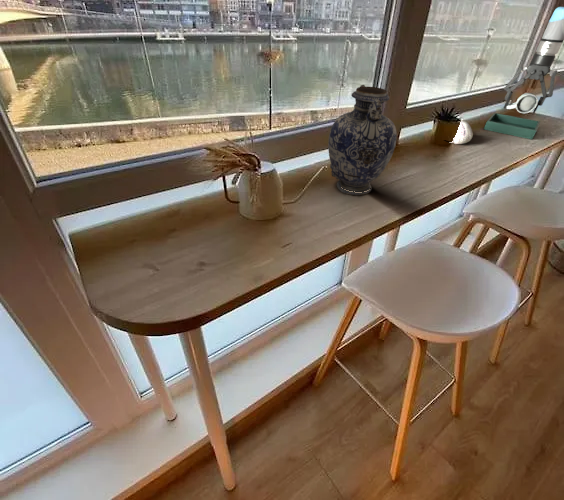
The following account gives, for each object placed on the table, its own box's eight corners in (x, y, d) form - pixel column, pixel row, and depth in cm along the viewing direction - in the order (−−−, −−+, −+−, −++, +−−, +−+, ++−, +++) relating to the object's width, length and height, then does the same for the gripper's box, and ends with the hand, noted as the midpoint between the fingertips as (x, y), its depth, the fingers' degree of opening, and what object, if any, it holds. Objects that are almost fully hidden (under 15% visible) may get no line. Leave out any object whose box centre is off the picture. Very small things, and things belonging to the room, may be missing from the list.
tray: (536, 129, 153) (540, 121, 150) (532, 139, 141) (536, 130, 139) (490, 120, 162) (494, 112, 159) (483, 129, 150) (487, 120, 148)
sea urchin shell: (473, 139, 139) (481, 120, 134) (465, 148, 130) (473, 128, 125) (441, 132, 145) (448, 113, 140) (432, 140, 136) (439, 120, 131)
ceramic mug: (531, 110, 148) (539, 92, 143) (532, 114, 142) (541, 95, 137) (505, 107, 151) (512, 89, 147) (505, 111, 146) (513, 92, 141)
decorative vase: (319, 171, 109) (330, 79, 91) (374, 173, 109) (395, 81, 92) (327, 204, 92) (342, 99, 75) (392, 205, 93) (421, 101, 75)
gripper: (512, 51, 135) (489, 106, 149) (580, 58, 125) (548, 117, 139) (514, 49, 140) (492, 103, 154) (580, 56, 130) (549, 113, 143)
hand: (518, 110), depth 146 cm, fingers closed on ceramic mug, 11 cm apart
